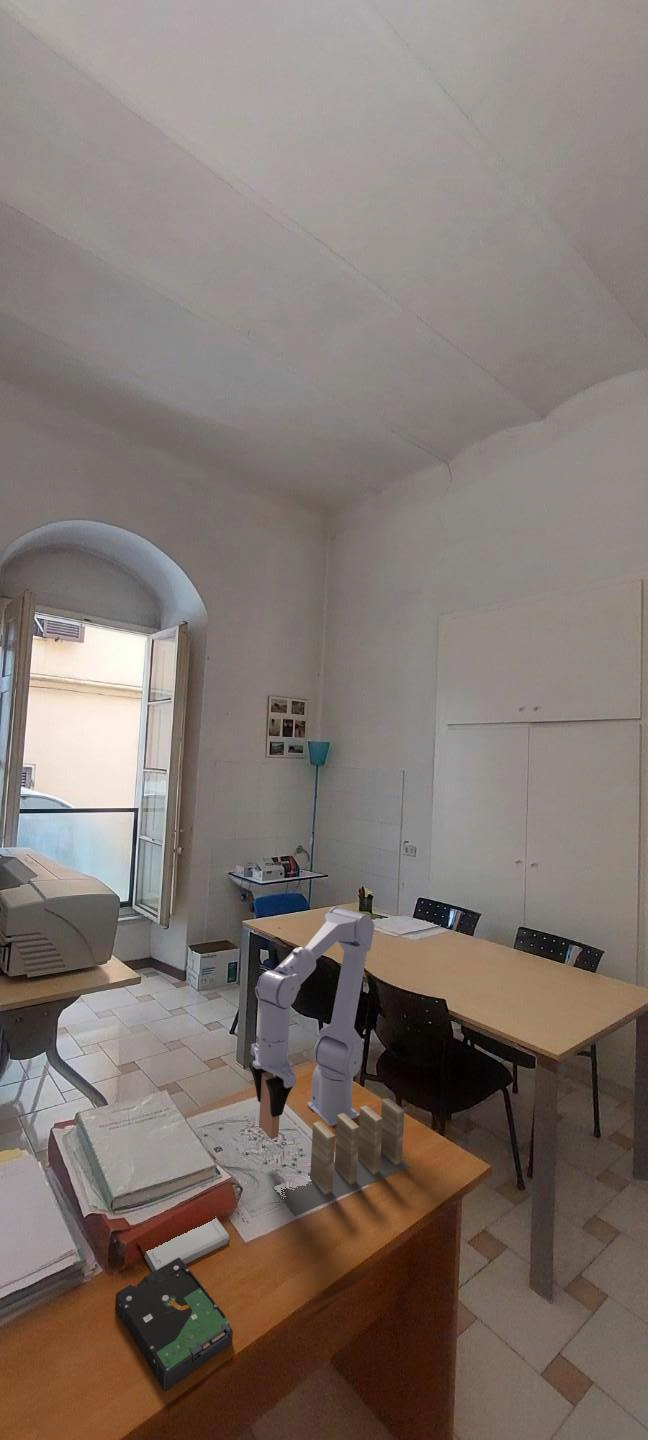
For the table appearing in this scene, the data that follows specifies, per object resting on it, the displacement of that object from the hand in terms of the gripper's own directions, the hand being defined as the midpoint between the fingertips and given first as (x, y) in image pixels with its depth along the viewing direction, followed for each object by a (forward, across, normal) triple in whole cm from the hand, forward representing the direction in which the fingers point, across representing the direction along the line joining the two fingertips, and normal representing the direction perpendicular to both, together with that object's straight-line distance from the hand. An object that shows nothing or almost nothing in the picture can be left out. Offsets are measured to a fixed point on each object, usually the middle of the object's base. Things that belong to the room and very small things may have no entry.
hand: (269, 1107), depth 120 cm
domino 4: (+10, +11, +16) cm, 22 cm away
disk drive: (+11, +23, -27) cm, 37 cm away
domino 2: (+10, +11, +6) cm, 16 cm away
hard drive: (+11, +10, -21) cm, 26 cm away
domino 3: (+10, +11, +11) cm, 18 cm away
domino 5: (+10, +11, +22) cm, 26 cm away
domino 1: (+4, 0, 0) cm, 4 cm away
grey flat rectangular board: (+10, +11, +10) cm, 18 cm away
